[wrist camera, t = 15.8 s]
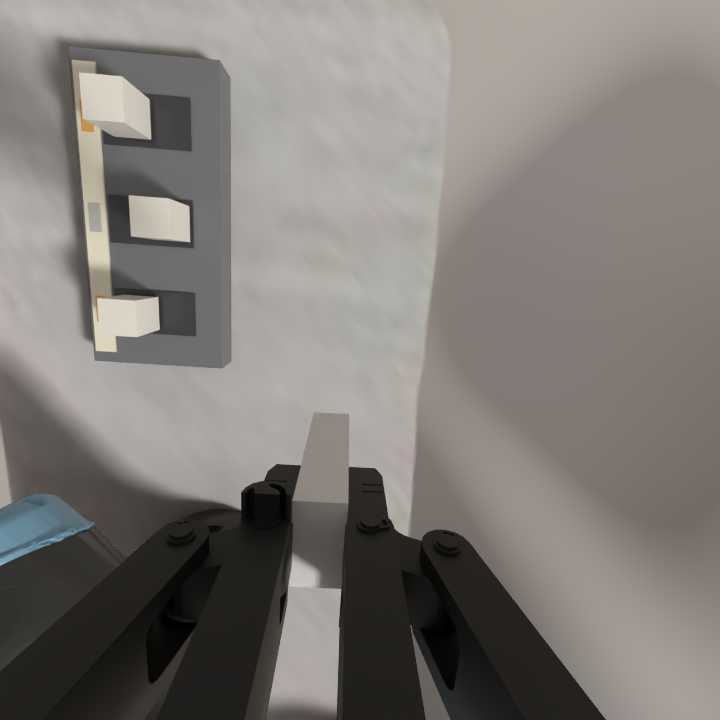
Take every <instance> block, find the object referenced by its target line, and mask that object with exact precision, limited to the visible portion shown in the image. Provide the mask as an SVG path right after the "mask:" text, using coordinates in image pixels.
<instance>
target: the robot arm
mask: <svg viewBox="0 0 720 720" xmlns="http://www.w3.org/2000/svg"><path fill="white" fill-rule="evenodd" d="M94 525H95V523H94V522H93V521H88V520H86V519H85V518H83V517H82V516H81V515H80V514H79V513H77V512H76V511H75V510H74V509H73V508H72V507H70V506H69V505H68V504H67V503H66V502H65V501H63V500H62V499H61V498H59V497H58V496H55V495H53V494H47V493H39V494H33V495H29V496H26V497H24V498H21V499H19V500H17V501H15V502H13V503H11V504H9V505H7V506H5V507H3V508H2V509H0V720H266V715H267V710H268V704H269V699H270V693H271V688H272V683H273V677H274V672H275V666H276V661H277V655H278V650H279V645H280V639H281V634H282V628H283V623H284V617H285V612H286V607H287V596H288V583H289V587H311V588H336V589H342V590H341V604H340V618H339V627H340V635H339V666H338V697H337V720H426V719H425V713H424V707H423V701H422V695H421V688H420V683H419V676H418V670H417V664H416V658H415V652H414V646H413V640H412V633H411V627H410V625H412V630H413V634H414V636H415V638H416V641H417V643H418V645H419V648H420V650H421V652H422V655H423V657H424V659H425V661H426V664H427V666H428V668H429V671H430V673H431V675H432V678H433V680H434V682H435V685H436V687H437V689H438V692H439V694H440V696H441V699H442V701H443V703H444V705H445V708H446V710H447V712H448V715H449V717H450V719H451V720H606V719H605V718H604V717H603V715H602V714H601V713H600V712H599V710H598V709H597V708H596V706H595V705H594V704H593V703H592V701H591V700H590V699H589V697H588V696H587V695H586V693H585V692H584V691H583V690H582V688H581V687H580V686H579V684H578V683H577V682H576V681H575V679H574V678H573V677H572V675H571V674H570V673H569V671H568V670H567V669H566V668H565V666H564V665H563V664H562V662H561V661H560V660H559V658H558V657H557V656H556V655H555V653H554V652H553V651H552V649H551V648H550V647H549V645H548V644H547V643H546V641H545V640H544V639H543V638H542V636H541V635H540V634H539V632H538V631H537V630H536V628H535V627H534V626H533V625H532V623H531V622H530V621H529V619H528V618H527V617H526V615H525V614H524V613H523V612H522V610H521V609H520V608H519V607H518V605H517V604H516V602H515V601H514V600H513V599H512V597H511V596H510V595H509V593H508V592H507V591H506V590H505V588H504V587H503V586H502V584H501V583H500V582H499V580H498V579H497V578H496V577H495V575H494V574H493V573H492V572H491V570H490V569H489V567H488V566H487V565H486V564H485V562H484V561H483V560H482V558H481V557H480V556H479V554H478V553H477V552H476V551H475V549H474V548H473V547H472V545H471V544H470V543H469V542H468V541H467V540H466V539H465V538H464V537H462V536H460V535H458V534H457V533H455V532H451V531H447V530H433V531H430V532H428V533H426V534H425V535H424V536H423V539H422V541H420V540H416V539H413V538H410V537H407V536H404V535H402V534H401V533H399V532H397V531H396V530H395V529H394V526H393V523H392V521H391V520H390V519H389V518H388V512H387V506H386V499H385V493H384V486H383V479H382V476H381V474H380V473H379V472H378V471H377V470H376V469H375V468H358V467H349V414H334V413H316V412H314V415H313V419H312V423H311V427H310V431H309V436H308V440H307V444H306V448H305V452H304V456H303V460H302V464H301V466H300V465H281V464H277V465H275V466H274V467H273V468H272V469H270V470H269V471H268V473H267V475H266V478H265V481H261V482H257V483H253V484H251V485H249V486H248V487H246V488H245V489H244V490H243V491H242V492H241V513H240V512H236V511H230V510H211V511H205V512H201V513H197V514H194V515H192V516H190V517H188V518H186V519H184V520H180V521H176V522H173V523H170V524H168V525H166V526H164V527H163V528H161V529H160V530H158V531H157V532H156V533H155V534H154V535H153V536H152V537H151V538H149V539H148V540H147V541H146V542H145V543H144V544H143V545H142V546H140V547H139V548H138V549H137V550H136V551H135V552H134V553H133V554H131V555H130V556H129V557H128V558H125V557H124V556H123V555H122V554H121V553H120V552H119V551H118V550H117V549H116V548H115V547H114V546H113V545H112V544H111V543H110V542H109V541H108V540H107V539H106V538H105V537H104V536H103V535H102V534H101V533H100V532H99V531H98V530H97V529H95V528H94V527H93V526H94ZM289 578H290V582H289Z"/></svg>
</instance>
